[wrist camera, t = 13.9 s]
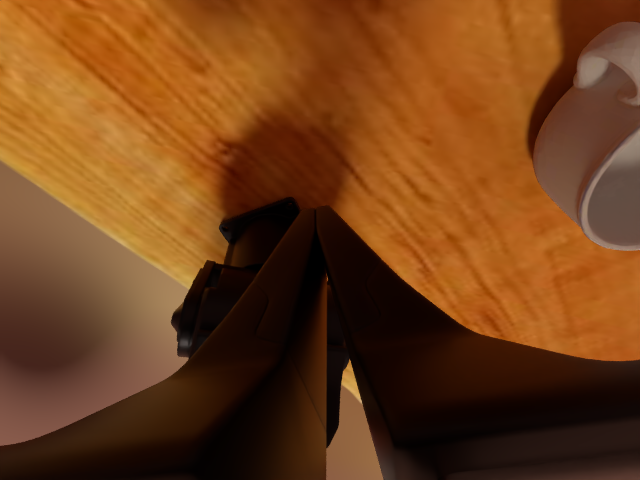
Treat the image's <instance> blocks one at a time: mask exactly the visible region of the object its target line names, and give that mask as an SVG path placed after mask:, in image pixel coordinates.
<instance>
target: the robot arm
mask: <svg viewBox="0 0 640 480" xmlns="http://www.w3.org/2000/svg"><path fill="white" fill-rule="evenodd" d="M288 203H292V204H293V205H292V206H288V205H287V204H288ZM224 226H226V227H228V229H226V228H224ZM219 230H220V232H221V233H222V234H223V236H224V237H225V239H226V240H227V241H228V243H229V246H228V249H227V253H226V257H225V260H224V264H218V263H216V262H215V261H209V260H207V261H206V263H205V265H204V267H203V268H201V269H200V270H199V272H198V274H197V276H196V278H195V280H194V281H193V284H192V286H191V288H190V290H189V292H188V293H187V295H186V298H185V299H184V302H183V303H182V304H181V305H180V306H179V307H178V308H177V310H176V311H175V312H174V313H173V316H172V320H171V324H172V326H173V327H174V328H175V330H176V331H177V342H178V348H177V353H178V354H177V355H178V356H179V357H189V359H188V361H187V362H186V363H185V364H184V365H183V366H182V367H181V368H180V369H179V370H178V371H177V372H175V373H174V374H173V375H171V376H170V377H168V378H167V379H165V380H163V381H162V382H160V383H158V384H156V385H153V386H151V387H149V388H147V389H145V390H143V391H140V392H139V393H136V394H134V395H132V396H130V397H128V398H126V399H123V400H121V401H119V402H117V403H115V404H113V405H111V406H108V407H106V408H104V409H102V410H100V411H98V412H96V413H94V414H91V415H89V416H87V417H85V418H83V419H81V420H79V421H77V422H74V423H72V424H70V425H68V426H66V427H64V428H61V429H58V430H56V431H54V432H51V433H49V434H46V435H43V436H41V437H39V438H35V439H32V440H28V441H25V442H21V443H16V444H11V445H4V446H0V480H326V448H327V447H328V446H329V445H330V443H331V441H332V439H333V437H334V435H335V433H336V431H337V429H338V425H339V409H340V390H341V381H342V374H343V371H344V369H345V368H346V367H347V364H348V362H349V359H350V361H351V364H352V368H353V371H354V375H355V378H356V382H357V386H358V389H359V393H360V396H361V400H362V404H363V407H364V411H365V414H366V418H367V422H368V425H369V429H370V432H371V436H372V439H373V443H374V446H375V450H376V454H377V457H378V461H379V465H380V468H381V472H382V475H383V479H384V480H640V360H634V361H601V360H593V359H585V358H580V357H574V356H570V355H565V354H561V353H557V352H553V351H548V350H544V349H540V348H536V347H531V346H527V345H523V344H519V343H514V342H510V341H506V340H502V339H498V338H493V337H489V336H485V335H481V334H479V333H476V332H474V331H472V330H470V329H468V328H466V327H464V326H463V325H461V324H459V323H458V322H457V321H455V320H454V319H452V318H451V317H450V316H449V315H447V314H446V313H445V312H443V311H442V310H441V309H440V308H438V307H437V306H436V305H434V304H433V303H432V302H430V301H429V300H428V299H427V298H425V297H424V296H423V295H421V294H420V293H419V292H417V291H416V290H415V289H414V288H412V287H411V286H410V285H409V284H408V283H406V282H405V281H404V280H403V279H401V278H400V277H399V276H398V275H397V274H396V273H395V272H394V271H393V270H392V269H391V268H390V267H389V266H388V265H387V264H386V263H385V262H384V261H383V260H382V259H381V258H380V257H379V256H378V255H377V254H376V253H375V252H374V251H373V250H372V249H371V248H370V247H369V246H368V245H367V244H366V243H365V242H364V241H363V240H362V239H361V238H360V237H359V236H358V234H357V233H356V232H355V231H354V230H353V229H352V228H351V227H350V226H349V225H348V224H347V223H346V222H345V221H344V220H343V219H342V218H341V217H340V216H339V215H338V214H337V213H336V212H335V211H334V210H333V209H332V208H331V207H330V206H329V205H326V206H321V207H317V208H316V210H315V208H310V209H304V210H302V211H300V209H299V207H298V205H297V202H296V201H295V199H293V198H290V197H289V198H285V199H282V200H280V201H277V202H274V203H272V204H269V205H266V206H263V207H261V208H258V209H255V210H252V211H250V212H247V213H244V214H241V215H239V216H236V217H233V218H231V219H228V220H225V221H223V222H221V224H220V226H219ZM326 273H327V275H326ZM327 277H328V282H327Z"/></svg>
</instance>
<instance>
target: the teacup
mask: <svg viewBox="0 0 640 480" xmlns="http://www.w3.org/2000/svg"><path fill="white" fill-rule="evenodd" d="M573 83H574V85H573V86H572V87H571V88H570V89H569V90H568V91H567V92H566V93H565V94H564V95H563V96H562V98H561V99H560V100H559V101H558V102H557V103H556V105H555V106H554V107H553V109H552V110H551V111H550V113H549V114H548V116H547V117H546V119H545V121H544V123H543V125H542V127H541V129H540V131H539V133H538V136H537V139H536V142H535V147H534V152H533V166H534V171H535V174H536V177H537V180H538V182H539V183H540V185H541V187H542V188H543V189H544V191H545V192H546V193H547V194H548V196H549V197H550V198H551V199H552V200H553V201H554V202H555V203H556V204H557V205H558V206H559V207H560V208H561V209H562V210H563V211H564V212H565V213H566V214H567V215H568V216H569V217H570V218H571V219H572V220H573V221H574V222H576V223H577V224H578V225H579V226H580V227H581V229H582V231H583V232H584V234H585V235H586V236H587V237H588V238H589V239H590V240H592V241H593V242H595V243H597V244H598V245H600V246H603V247H605V248H610V249H615V250H624V251H627V250H640V23H638V22H620V23H617V24H615V25H612V26H610V27H608V28H606V29H605V30H603V31H602V32H601V33H599V34H598V35H597V36H596V37H595V38H593V39H592V40H591V41H590V42H589V43H588V45H587V46H586V47H585V48H584V49H583V50H582V52H581V53H580V55H579V58H578V61H577V72H576V74H575V75H574V78H573Z"/></svg>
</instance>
